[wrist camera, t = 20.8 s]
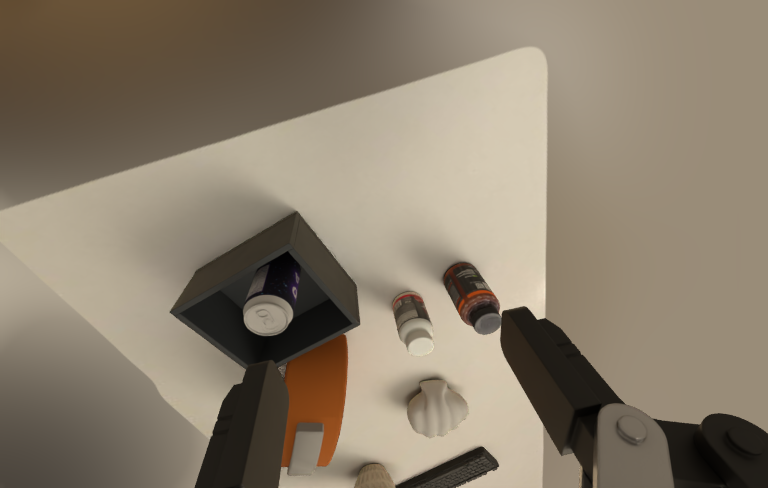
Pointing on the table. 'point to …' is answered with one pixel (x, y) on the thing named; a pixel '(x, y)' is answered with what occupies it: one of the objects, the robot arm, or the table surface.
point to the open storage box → (232, 284)
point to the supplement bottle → (473, 298)
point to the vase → (374, 477)
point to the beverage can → (272, 296)
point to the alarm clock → (315, 406)
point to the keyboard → (455, 471)
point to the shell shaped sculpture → (436, 409)
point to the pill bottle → (413, 323)
